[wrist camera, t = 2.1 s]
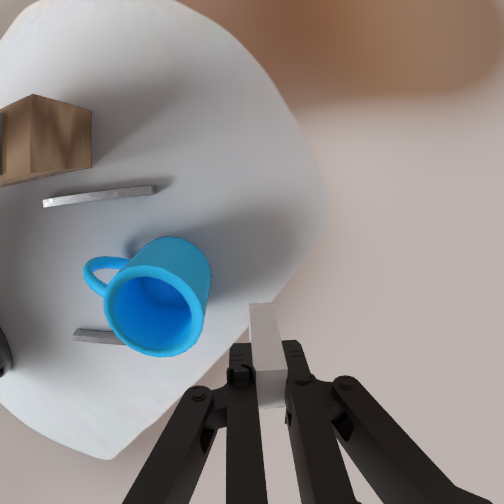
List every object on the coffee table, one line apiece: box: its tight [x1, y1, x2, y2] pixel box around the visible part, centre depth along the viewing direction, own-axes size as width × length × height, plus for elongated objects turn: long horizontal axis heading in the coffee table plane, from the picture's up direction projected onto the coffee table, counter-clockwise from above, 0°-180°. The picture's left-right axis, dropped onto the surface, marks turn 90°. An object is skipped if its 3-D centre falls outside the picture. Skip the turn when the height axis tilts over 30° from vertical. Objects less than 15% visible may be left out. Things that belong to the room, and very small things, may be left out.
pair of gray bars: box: [43, 185, 156, 345], centre depth 26 cm, size 13×17×2 cm
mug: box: [83, 237, 211, 357], centre depth 23 cm, size 12×8×8 cm
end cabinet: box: [0, 94, 91, 187], centre depth 17 cm, size 6×12×11 cm, turn 91°
